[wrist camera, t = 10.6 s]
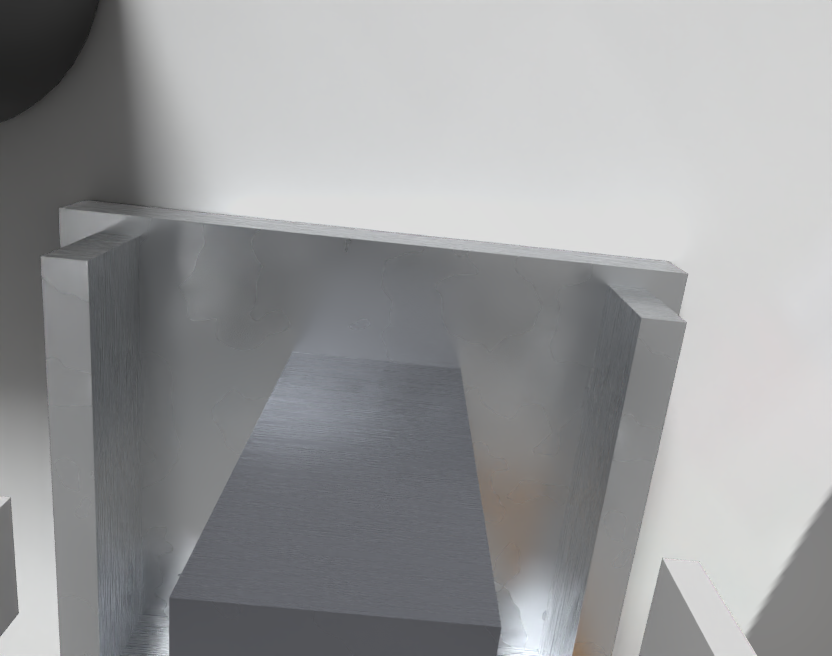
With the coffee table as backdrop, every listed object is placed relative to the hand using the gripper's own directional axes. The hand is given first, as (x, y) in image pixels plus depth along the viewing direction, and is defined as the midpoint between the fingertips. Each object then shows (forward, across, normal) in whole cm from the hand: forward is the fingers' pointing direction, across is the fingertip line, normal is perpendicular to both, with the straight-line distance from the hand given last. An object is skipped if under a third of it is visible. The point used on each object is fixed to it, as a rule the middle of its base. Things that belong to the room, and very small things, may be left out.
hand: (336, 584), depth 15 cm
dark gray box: (+6, 0, 0) cm, 6 cm away
